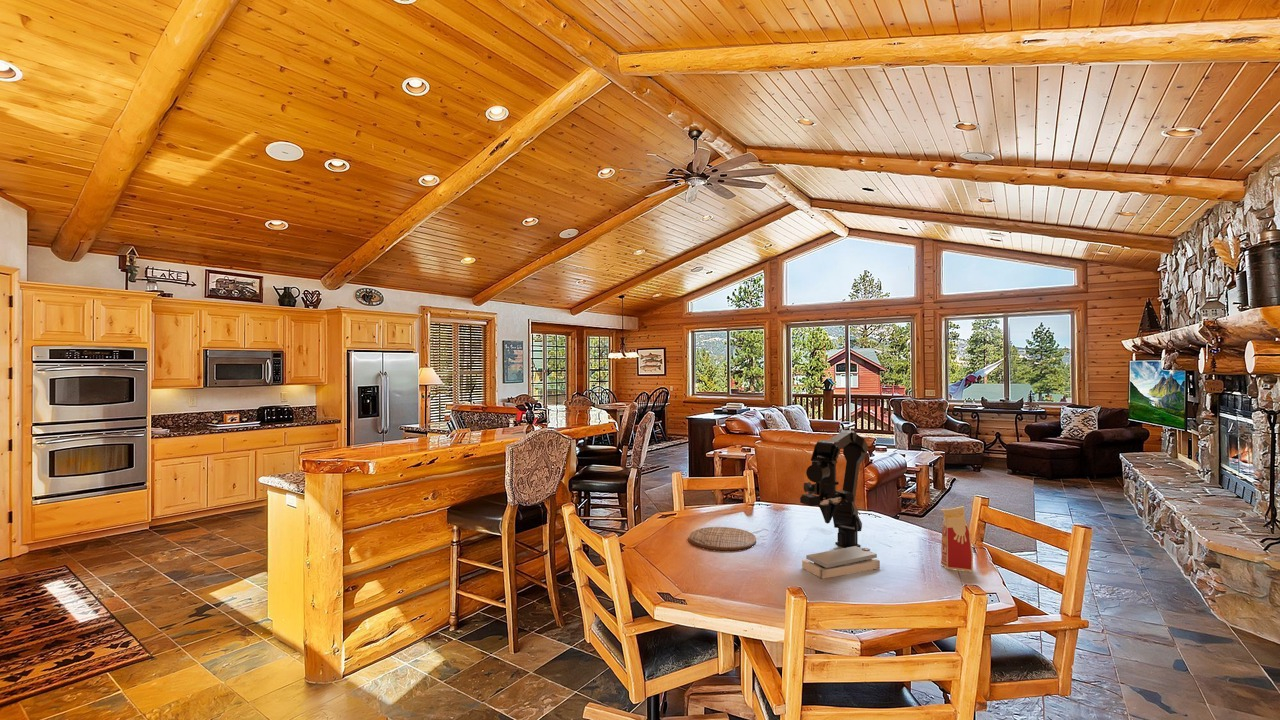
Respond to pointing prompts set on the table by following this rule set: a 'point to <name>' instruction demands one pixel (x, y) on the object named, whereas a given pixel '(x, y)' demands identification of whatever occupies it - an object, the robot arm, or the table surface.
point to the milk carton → (956, 541)
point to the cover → (841, 556)
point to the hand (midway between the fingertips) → (827, 523)
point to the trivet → (722, 539)
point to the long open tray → (840, 568)
